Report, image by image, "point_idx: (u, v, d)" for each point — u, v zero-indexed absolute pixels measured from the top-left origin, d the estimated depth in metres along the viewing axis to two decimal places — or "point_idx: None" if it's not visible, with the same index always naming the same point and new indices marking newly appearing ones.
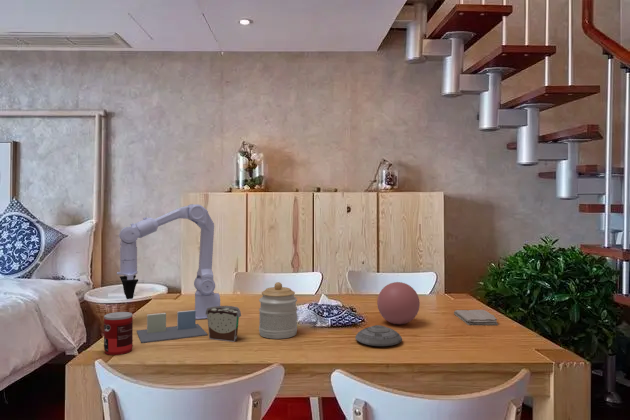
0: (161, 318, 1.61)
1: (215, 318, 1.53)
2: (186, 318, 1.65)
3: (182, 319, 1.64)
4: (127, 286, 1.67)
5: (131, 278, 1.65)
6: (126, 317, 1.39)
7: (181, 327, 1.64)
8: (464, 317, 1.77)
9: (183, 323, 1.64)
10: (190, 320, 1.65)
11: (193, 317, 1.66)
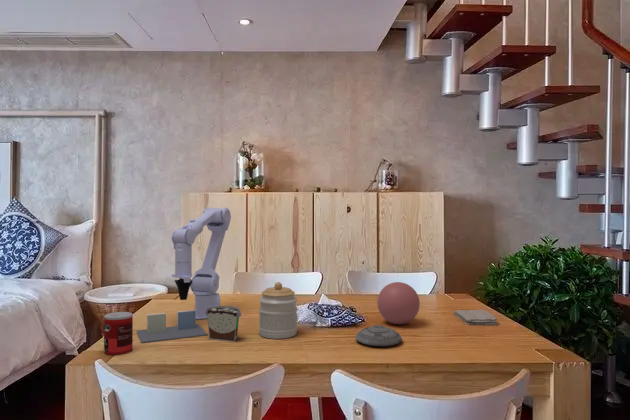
0: (161, 318, 1.61)
1: (215, 318, 1.53)
2: (186, 318, 1.65)
3: (182, 319, 1.64)
4: (181, 287, 1.69)
5: (188, 281, 1.64)
6: (126, 317, 1.39)
7: (181, 327, 1.64)
8: (464, 317, 1.77)
9: (183, 323, 1.64)
10: (190, 320, 1.65)
11: (193, 317, 1.66)
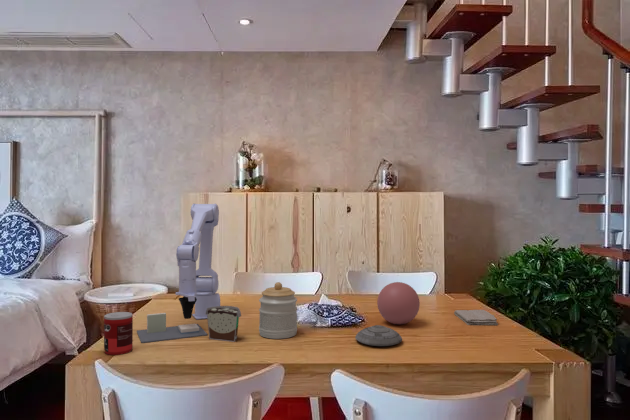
0: (161, 318, 1.61)
1: (215, 318, 1.53)
2: None
3: None
4: (185, 305, 1.62)
5: (192, 299, 1.57)
6: (126, 317, 1.39)
7: None
8: (464, 317, 1.77)
9: None
10: None
11: None
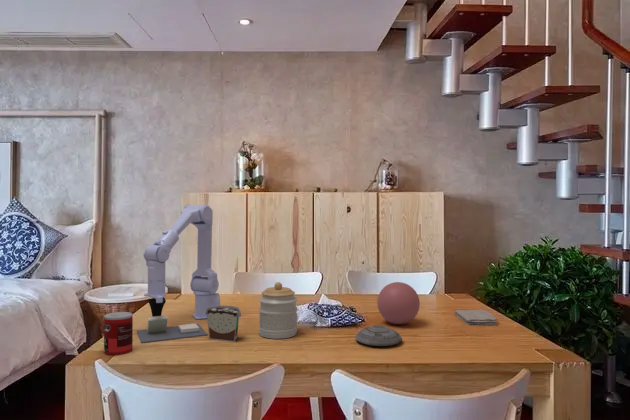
0: (162, 322, 1.59)
1: (215, 318, 1.53)
2: None
3: None
4: (154, 307, 1.60)
5: (160, 301, 1.54)
6: (126, 317, 1.39)
7: None
8: (464, 317, 1.77)
9: None
10: None
11: None
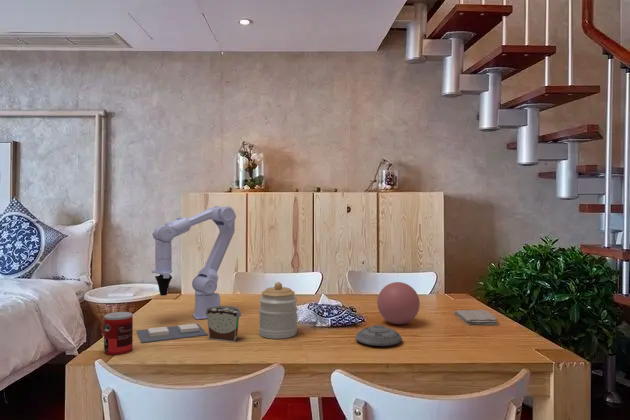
0: None
1: (215, 318, 1.53)
2: None
3: None
4: (161, 283, 1.72)
5: (167, 276, 1.67)
6: (126, 317, 1.39)
7: None
8: (464, 317, 1.77)
9: None
10: None
11: None
